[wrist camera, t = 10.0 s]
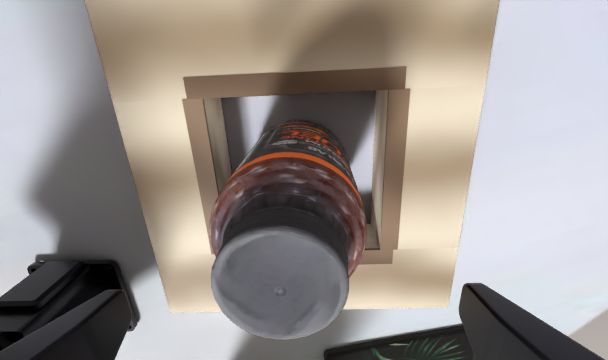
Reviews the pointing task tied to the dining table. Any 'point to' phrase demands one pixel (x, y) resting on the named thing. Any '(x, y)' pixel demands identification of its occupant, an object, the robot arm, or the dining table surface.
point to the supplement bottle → (287, 233)
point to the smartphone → (410, 347)
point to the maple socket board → (302, 80)
